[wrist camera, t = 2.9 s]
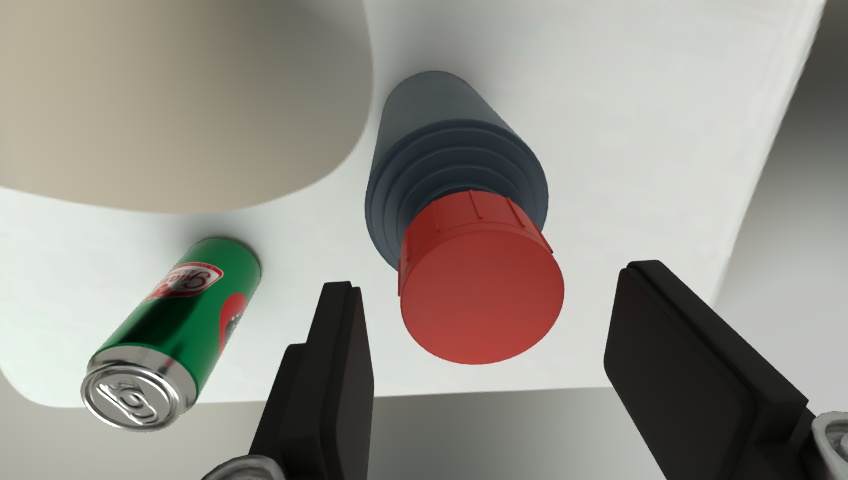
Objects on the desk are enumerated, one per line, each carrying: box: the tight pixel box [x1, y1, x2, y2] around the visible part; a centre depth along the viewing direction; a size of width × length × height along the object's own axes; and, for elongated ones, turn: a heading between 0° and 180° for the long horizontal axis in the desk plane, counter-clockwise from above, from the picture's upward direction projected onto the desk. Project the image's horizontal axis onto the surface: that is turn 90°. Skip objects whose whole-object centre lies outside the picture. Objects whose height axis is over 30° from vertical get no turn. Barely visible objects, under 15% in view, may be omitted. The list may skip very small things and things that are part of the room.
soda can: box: [80, 238, 261, 432], centre depth 25 cm, size 5×5×12 cm
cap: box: [398, 190, 564, 365], centre depth 11 cm, size 4×4×2 cm
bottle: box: [365, 71, 549, 271], centre depth 18 cm, size 6×6×18 cm
